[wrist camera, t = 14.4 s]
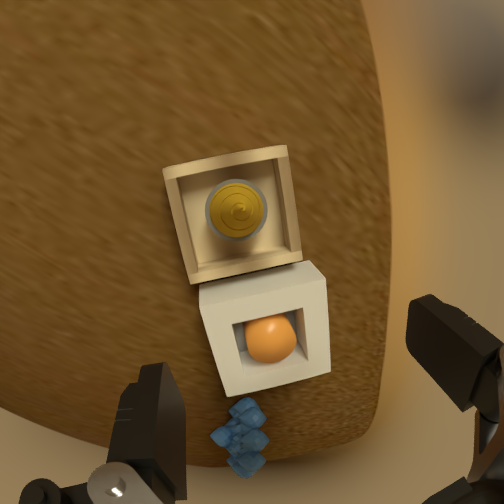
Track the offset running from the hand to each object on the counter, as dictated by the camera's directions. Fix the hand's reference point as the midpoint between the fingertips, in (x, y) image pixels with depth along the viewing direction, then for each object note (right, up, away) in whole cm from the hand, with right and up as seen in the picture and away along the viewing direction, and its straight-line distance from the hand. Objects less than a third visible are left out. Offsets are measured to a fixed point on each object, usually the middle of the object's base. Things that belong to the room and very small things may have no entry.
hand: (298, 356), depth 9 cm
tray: (-3, +7, +22) cm, 23 cm away
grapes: (-4, -18, +30) cm, 35 cm away
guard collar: (0, -5, +26) cm, 26 cm away
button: (0, -5, +26) cm, 26 cm away
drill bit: (-3, +7, +21) cm, 23 cm away
